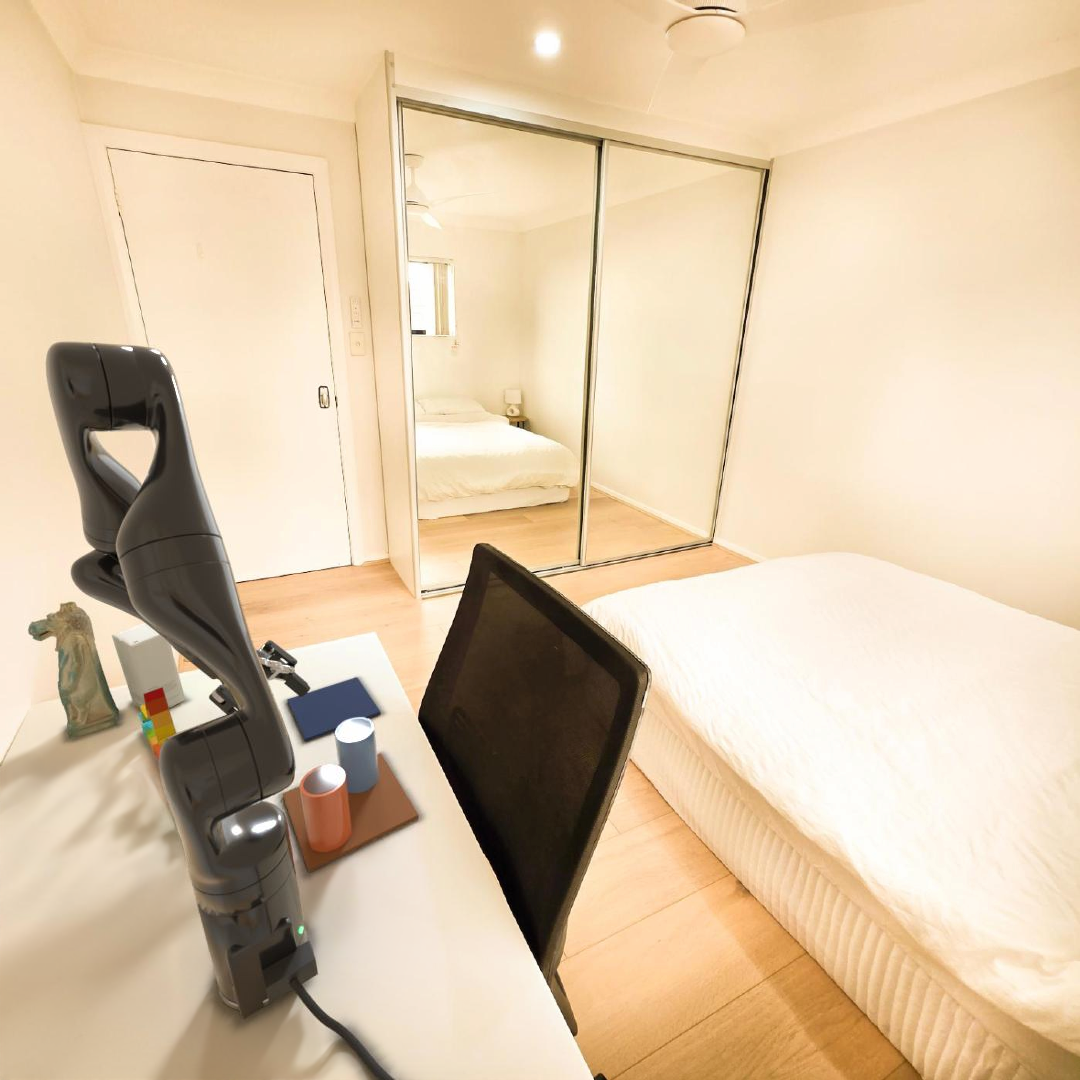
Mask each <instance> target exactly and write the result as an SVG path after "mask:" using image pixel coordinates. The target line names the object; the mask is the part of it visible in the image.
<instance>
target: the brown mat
mask: <svg viewBox="0 0 1080 1080" xmlns="http://www.w3.org/2000/svg"><path fill="white" fill-rule="evenodd" d="M377 759H378V770H379V779H378V781H377V783H376V784H375V785H374V786H373V787H372V788H370V789H369V790H367V791H365V792H361V793H348V799H349V807H350V816H351V824H352V833H351V835H350V837H349V839H348V840H347V841H346V843H345V844H343V845H342V846H341V847H339V848H338V849H336V850H333V851H330V852H316V851H314V850H312V849H311V848H310V846H309V844H308V839H307V833H306V826H305V820H304V813H303V807H302V800H301V794H300V785H298V786H297V787H294V788H292V789H290V790H288V791H285V792H283V793H282V798H283V801H284V803H285V807H286V809H287V812H288V815H289V818H290V821H291V824H292V826H293V830H294V833H295V836H296V838H297V839H296V840H297V842H298V844H299V848H300V850H301V853H302V858H303V860H304V862H305V866H306V868H307V871H308V873H311V872H313V871H315V870H317V869H319V868H321V867H324V866H325V865H327V864H329V863H331V862H333V861H335V860H337V859H340V858H341V857H343V856H345V855H347V854H349V853H351V852H353V851H355V850H357V849H359V848H361V847H363V846H364V845H367V844H369V843H371V842H372V841H375V840H377V839H379V838H381V837H383V836H385V835H388V834H389V833H391V832H393V831H395V830H397V829H399V828H401V827H403V826H405V825H407V824H409V823H410V822H413V821H414V820H417V819H419V817H420V815H419V813H418V811H417V809H416V808H415V806H414V805H413V803H412V800H410V798H409V796H408V795H407V793H406V792H405V790H404V788H403V787H402V785H401V784H400V782H399V780H398V779H397V777H396V776H395V774H394V772H393V770H392V769H391V767H390V765H389V764H388V762H387V761H386V759H385V757H384V756H383V754H382V753H381V752H380V753H377Z"/></svg>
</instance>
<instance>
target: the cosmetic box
mask: <svg viewBox="0 0 1080 1080" xmlns="http://www.w3.org/2000/svg"><path fill="white" fill-rule="evenodd" d="M111 638H112V641H113V643H114V647H115V650H116V654H117V657H118V660H119V663H120V667H121V670H122V673H123V676H124V679H125V682H126V685H127V688H128V691H129V694H130V698H131V702H132V703H133V704H134V705H135V706H136V707H138V708H140V706H141V705H144V704H145V700H144V695H143V694H145V693H147V692H150V691H153V690H156V689H159V688H161V687H163V690H164V694H165V697H166V700H167V704H168V707H169V709H170V708H172V707H174V706H176V705H178V704H180V703H183V702H184V701H185V700H186V697H185V693H184V689H183V688H184V687H183V686H182V681H181V678H180V674H179V671H178V667H177V663H176V658H175V655H174V652H173V647H172V645H171V644H170V643H169V642H168V641H167V640H166V639H165V638H163V637H162V636H161V635H160V634H158V633H157V632H156V631H155V630H153V629H152V628H151V627H150V626H148V625H147V624H146V623H145V622H143V623H140V624H136V625H135V626H131V627H130V628H127V629H124V630H121V631H119V632H116V633H113V634H111Z"/></svg>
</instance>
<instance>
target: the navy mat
mask: <svg viewBox="0 0 1080 1080" xmlns="http://www.w3.org/2000/svg"><path fill="white" fill-rule="evenodd" d="M286 701H287V703H288V706H289V708H290V710H291V713H292V715H293V717H294V720H295V721H296V724H297V726H298V729H299V732H300V733H301V735H302V737H303V740H304V742H308V741H311V740H313V739H316V738H319V737H322V736H325V735H327V734H330V733H333V732H335V730H336V728H337V727H338V726H339V725H340V724H341V723H342V722H344V721H346V720H348V719H351V718H356V717H364V718H368V719H371V718H373V717H377V716H379V715H381V714H382V713H381V710H380V709H379V707H378V705H377V703H375V701H374V699H373V698H372V696H371V695H370V694H369V692H368V691H367V689H366V688H365V686H364V684H363V683H362V682H361V680H360V679H359V677H358V676H355V677H353V678H349V679H347V680H343V681H340V682H337V683H334V684H331V685H327V686H324V687H321V688H318V689H315V690H313V691H308V692H307V693H306V694H305V695H304V696H303V697H300V696H299V695H296V696H294V697H290V698H287V699H286Z"/></svg>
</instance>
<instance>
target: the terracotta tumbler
mask: <svg viewBox="0 0 1080 1080" xmlns="http://www.w3.org/2000/svg"><path fill="white" fill-rule="evenodd" d="M299 786H300V794H301V800H302V807H303V813H304V820H305V826H306V833H307V839H308V844H309V846H310V848H311V849H312V850H314V851H316V852H330V851H333V850H336V849H338V848H339V847H341V846H342V845H343V844H345V843H346V841H347V840H348V839H349V837H350V835H351V833H352V824H351V816H350V807H349V799H348V790H347V781H346V773H345V771H344V770H343V769H342V768H341V767H339V766H338V764H337V765H336V764H323V765H320V766H316V767H314V768H313V769H311V770H309V771H308V772H307V773H306V774H305V775H303V777H302V778H301V780H300V782H299Z"/></svg>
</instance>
